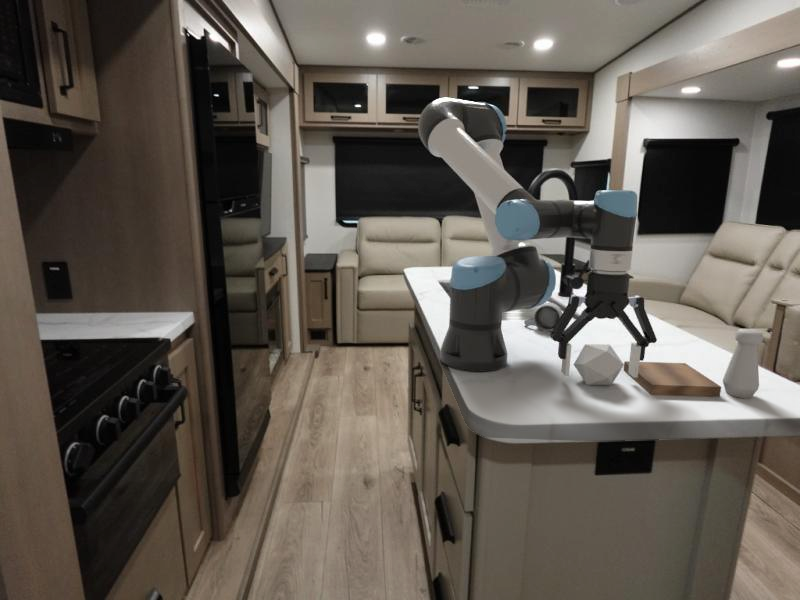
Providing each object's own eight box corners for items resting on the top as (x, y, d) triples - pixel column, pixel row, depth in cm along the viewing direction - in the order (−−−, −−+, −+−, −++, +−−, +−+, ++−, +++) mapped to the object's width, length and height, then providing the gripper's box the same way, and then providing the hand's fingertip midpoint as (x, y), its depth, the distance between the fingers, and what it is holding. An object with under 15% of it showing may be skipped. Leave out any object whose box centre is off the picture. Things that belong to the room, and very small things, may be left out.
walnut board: (650, 394, 94) (652, 384, 93) (623, 370, 106) (624, 361, 106) (719, 396, 93) (721, 386, 93) (683, 371, 106) (685, 363, 105)
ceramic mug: (562, 325, 141) (563, 301, 139) (559, 332, 134) (561, 306, 132) (526, 322, 144) (527, 298, 143) (522, 329, 137) (523, 303, 136)
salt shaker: (754, 403, 90) (767, 336, 88) (718, 394, 94) (730, 330, 91) (758, 393, 95) (770, 329, 92) (723, 385, 98) (734, 324, 96)
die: (614, 397, 94) (638, 355, 95) (576, 373, 94) (599, 331, 95) (596, 395, 102) (618, 356, 103) (561, 373, 102) (583, 334, 103)
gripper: (549, 273, 91) (541, 379, 95) (684, 275, 90) (670, 382, 94) (539, 267, 98) (532, 366, 103) (664, 269, 97) (652, 369, 102)
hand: (598, 374), depth 99 cm, fingers open, 13 cm apart
